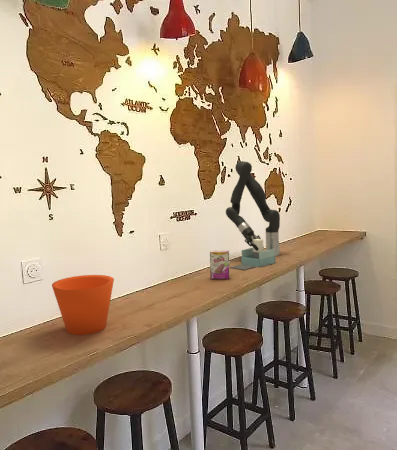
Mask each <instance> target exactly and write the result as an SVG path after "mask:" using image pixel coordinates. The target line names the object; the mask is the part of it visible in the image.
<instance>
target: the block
mask: <svg viewBox="0 0 397 450" xmlns="http://www.w3.org/2000/svg"><path fill="white" fill-rule="evenodd" d="M253 241H254V243H255V245H256V246H257V247H258V248H259V249H258V250H257V251H256V250H255V249H254V247H252V248H253V258H259V252H263V251H264V248H263V246H264V239H263V238H261V239H254V240H253Z"/></svg>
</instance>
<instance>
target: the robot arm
mask: <svg viewBox="0 0 397 450" xmlns="http://www.w3.org/2000/svg"><path fill="white" fill-rule="evenodd" d="M252 170H253V166H252V163H251V162H248V161H243V160H241V161H238V162H236V164H235V171H236V174H238V176H239V178H238V180H237V183H236V184H235V187H234V189H233V190H232V193H231V197H230V202H229V203H231V206H228V207H227V208H226V209H225V215H226V217H227V218H228V219H229V220H230V221H231V222H232V223H233V224H234V225H235V227H236V228H237V229H238V231H239V232H240V233H241V235H242V236H243V238H244V242H245V243H246V244H247V245H248V246H249V247H250V248H253V247H254V249H255V250H256V251H257V250H258V249H259V248H258V247H257V246H256V245H255V243H254V241H253V240H254V239H262V237H261V236H260V235H256V234H255V231H254V230H253V229H252V227H251V225H250V224H249V223H248V222H247V221H246V220H245V218H243V216H240V215H239V214H240V212H241V201H242V199H243V198H242V197H243V193H244V191H245V187H246V189H247V190H248V191H249V194H250V196H251V198H252V199H253V200H254V202H255V204H256V206H257V207H258V209H259V211H260V214H261V215H262V216H261V217H262V218H263V220H264V221H265V222H266V223H268V226H267V227H266V228H265V247H264V245H263V249H264V248H265V251H267V250H272V249H275V257H278V256H280V255H281V254H280V240H279V239H280V237H279V231H280V230H279V229H280V225H281V224H280V223H281V222H280V221H281V220H280V219H281V216H280V212H279V211H278V210H276V209H271V208H270V207H269V205H268V203H267V199H266V192H265V190H264V189H263V186H262V185H261V184H260V183H259V182H258V181H257V180H256V179H255V178H254V177H253V175H252V174H251V173H252Z"/></svg>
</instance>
